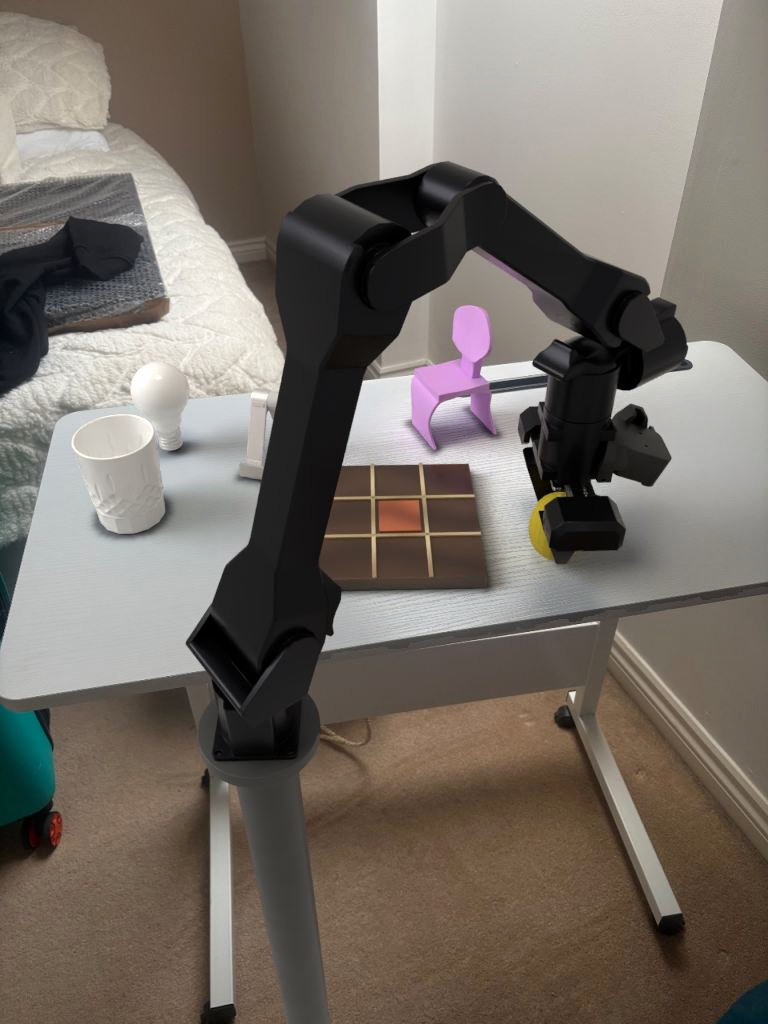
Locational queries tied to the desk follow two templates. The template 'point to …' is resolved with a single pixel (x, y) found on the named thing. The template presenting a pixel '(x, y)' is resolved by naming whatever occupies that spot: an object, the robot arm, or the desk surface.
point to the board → (404, 529)
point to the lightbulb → (162, 400)
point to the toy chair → (456, 373)
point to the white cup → (121, 471)
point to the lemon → (536, 528)
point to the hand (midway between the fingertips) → (555, 542)
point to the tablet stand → (257, 431)
